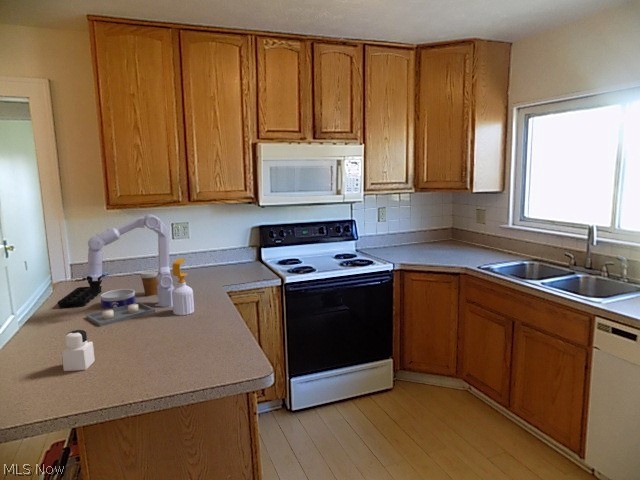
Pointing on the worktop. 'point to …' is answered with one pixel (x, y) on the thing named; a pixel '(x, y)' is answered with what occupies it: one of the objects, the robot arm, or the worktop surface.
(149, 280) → the disposable coffee cup
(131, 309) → the pebble
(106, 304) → the dog bowl
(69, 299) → the egg carton
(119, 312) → the parts tray
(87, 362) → the medicine bottle
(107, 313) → the pebble
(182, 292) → the soap bottle
